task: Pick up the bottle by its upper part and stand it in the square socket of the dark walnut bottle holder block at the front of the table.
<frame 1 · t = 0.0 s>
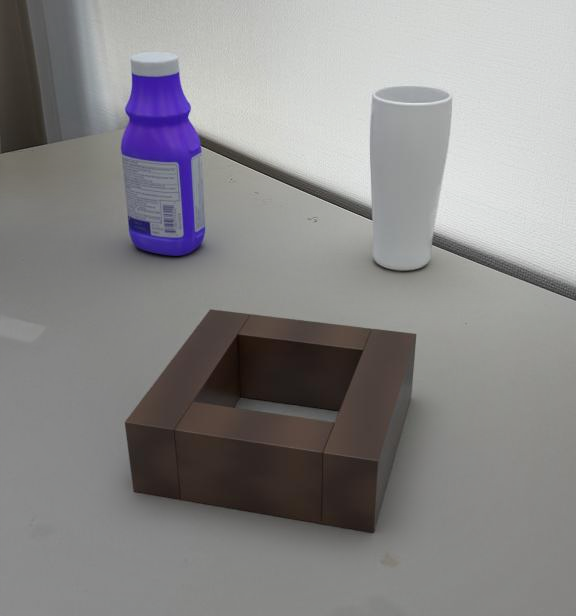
holder: (282, 440, 56), on the table
drinking glass: (400, 263, 80), on the table
bottle: (169, 248, 83), on the table
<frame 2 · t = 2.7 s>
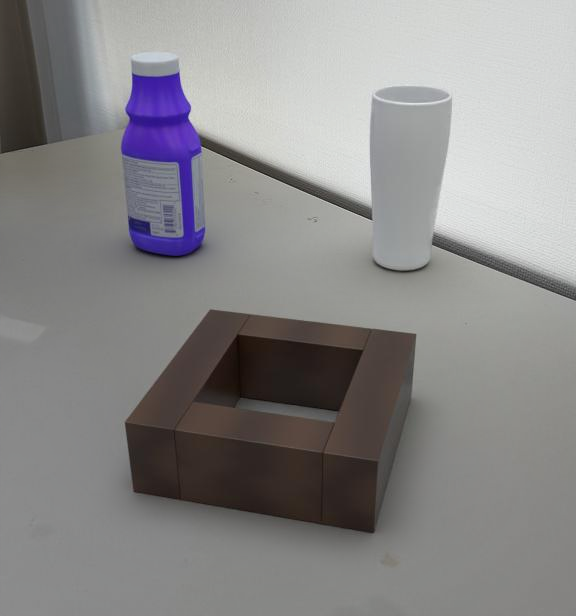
nothing on the table moved.
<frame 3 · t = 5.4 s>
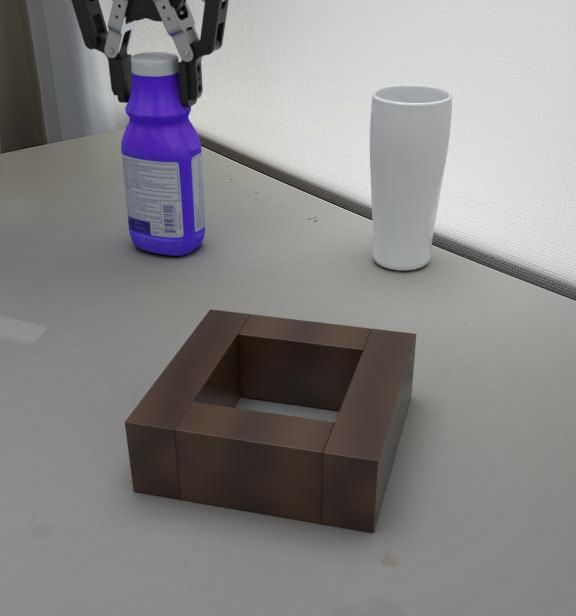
hand: (158, 101, 76), 14 cm above the table, tool pointing down, fingers closed on bottle, 5 cm apart
bottle: (169, 248, 83), on the table, touching gripper
everything else where it was.
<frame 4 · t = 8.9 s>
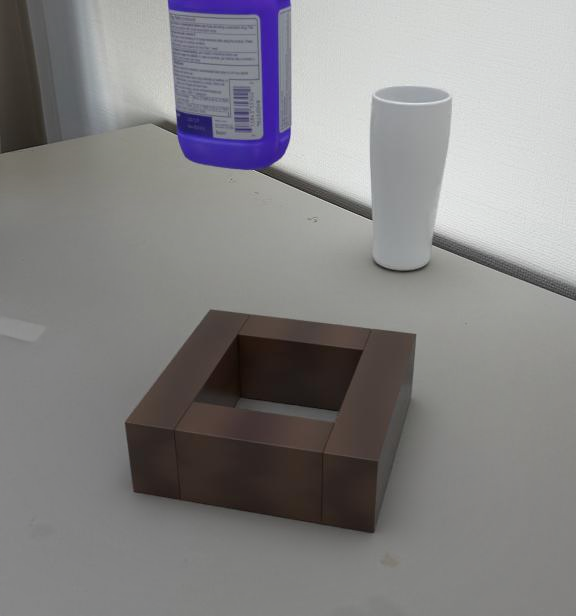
bottle: (236, 163, 56), point 15 cm above the table, touching gripper
everything else where it was.
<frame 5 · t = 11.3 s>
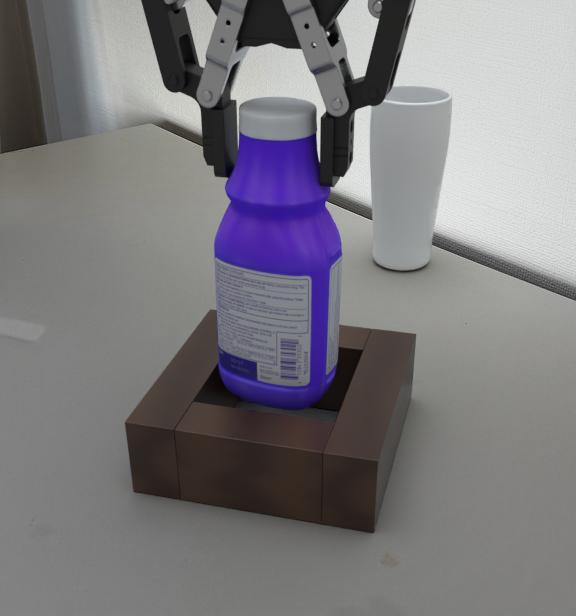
hand: (278, 176, 47), 17 cm above the table, tool pointing down, fingers closed on bottle, 5 cm apart
bottle: (278, 391, 54), point 4 cm above the table, touching gripper
everything else where it was.
when the fingers open (14 cm above the table, at t = 12.9 s): bottle stays where it is, resting in holder.
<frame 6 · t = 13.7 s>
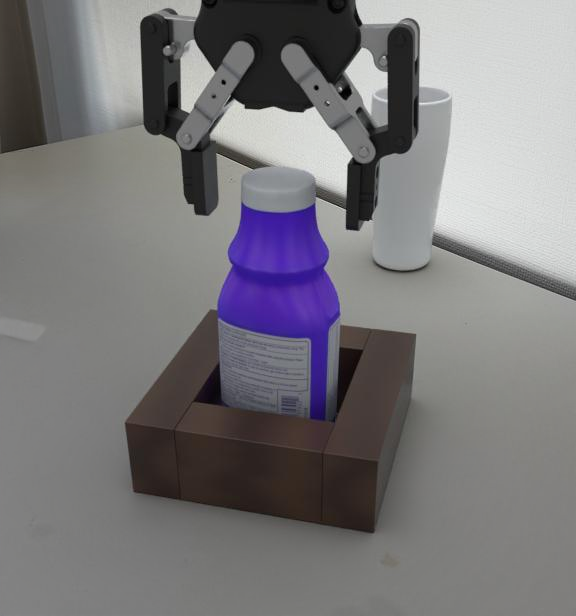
hand: (280, 218, 48), 15 cm above the table, tool pointing down, fingers open, 8 cm apart
bottle: (279, 441, 56), resting in holder
everything else where it was.
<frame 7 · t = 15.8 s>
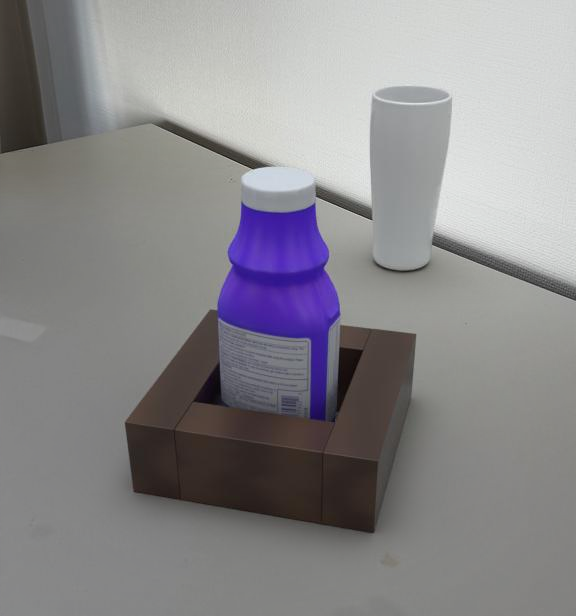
nothing on the table moved.
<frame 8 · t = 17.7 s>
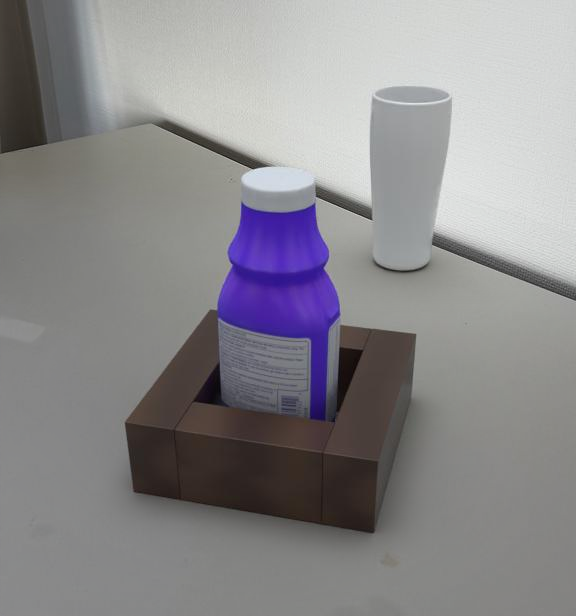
nothing on the table moved.
at the end: bottle 0.2 cm off-centre in the holder, point 0.0 cm above the holder's base; bottle tilted 0°; the gripper is holding nothing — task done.
